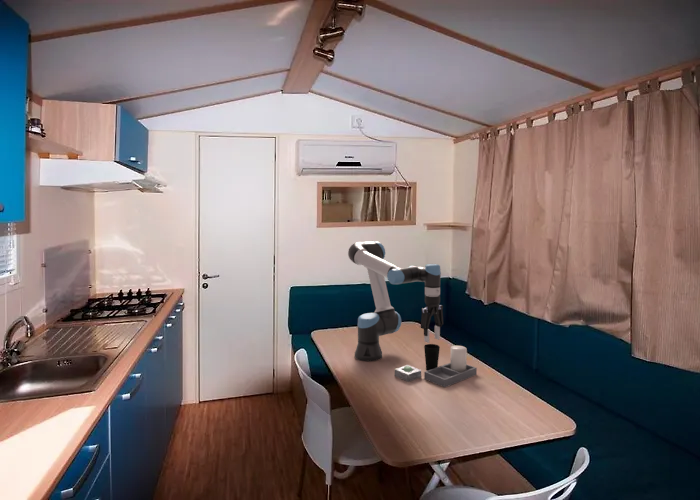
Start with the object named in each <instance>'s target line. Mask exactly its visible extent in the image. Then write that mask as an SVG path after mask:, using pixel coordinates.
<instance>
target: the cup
mask: <svg viewBox="0 0 700 500" xmlns="http://www.w3.org/2000/svg"><path fill="white" fill-rule="evenodd" d="M423 348H424V349H423V350H424V358H425V371H428V370H431V369H434V368H437V367H439V358H440V357H439V356H440V345H438V344H435V343H427V344H424V347H423Z"/></svg>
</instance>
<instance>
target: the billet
mask: <svg viewBox="0 0 700 500" xmlns="http://www.w3.org/2000/svg"><path fill="white" fill-rule="evenodd" d="M467 355H468V350H467V347H465V346H463V345H452V346H450V362H449V363H450V369H451V370H454V371H457V372H460V373H461V372H464V371H466V364H467V363H468V362H467V359H468V358H467Z"/></svg>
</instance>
